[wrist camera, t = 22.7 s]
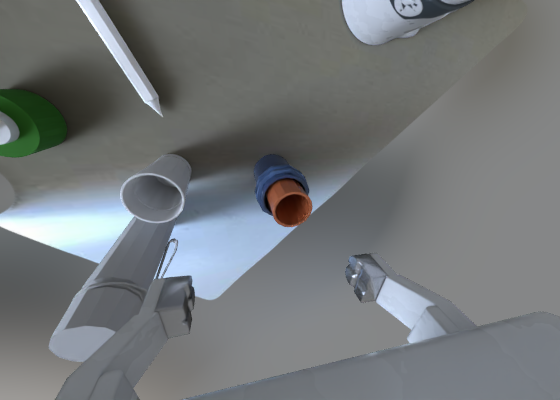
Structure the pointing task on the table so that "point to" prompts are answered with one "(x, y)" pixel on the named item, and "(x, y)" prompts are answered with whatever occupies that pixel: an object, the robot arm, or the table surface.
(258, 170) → the cup stack
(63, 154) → the table surface
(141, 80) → the marker
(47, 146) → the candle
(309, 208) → the terracotta cup
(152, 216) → the cup
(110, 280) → the water bottle
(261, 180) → the stack rims
